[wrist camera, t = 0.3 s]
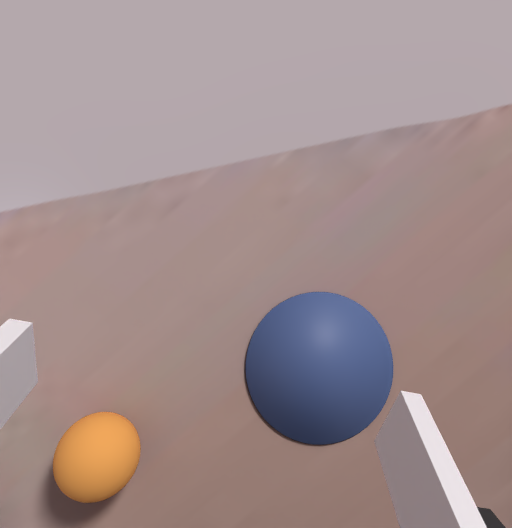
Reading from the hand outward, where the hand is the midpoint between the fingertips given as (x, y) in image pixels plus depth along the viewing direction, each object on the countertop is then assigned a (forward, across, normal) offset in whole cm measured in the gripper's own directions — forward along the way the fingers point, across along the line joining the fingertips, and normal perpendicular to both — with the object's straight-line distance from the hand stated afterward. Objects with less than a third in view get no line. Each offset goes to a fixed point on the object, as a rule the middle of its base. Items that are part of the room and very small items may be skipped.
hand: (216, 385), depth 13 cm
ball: (+6, +7, +15) cm, 17 cm away
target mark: (+13, -8, +9) cm, 18 cm away
